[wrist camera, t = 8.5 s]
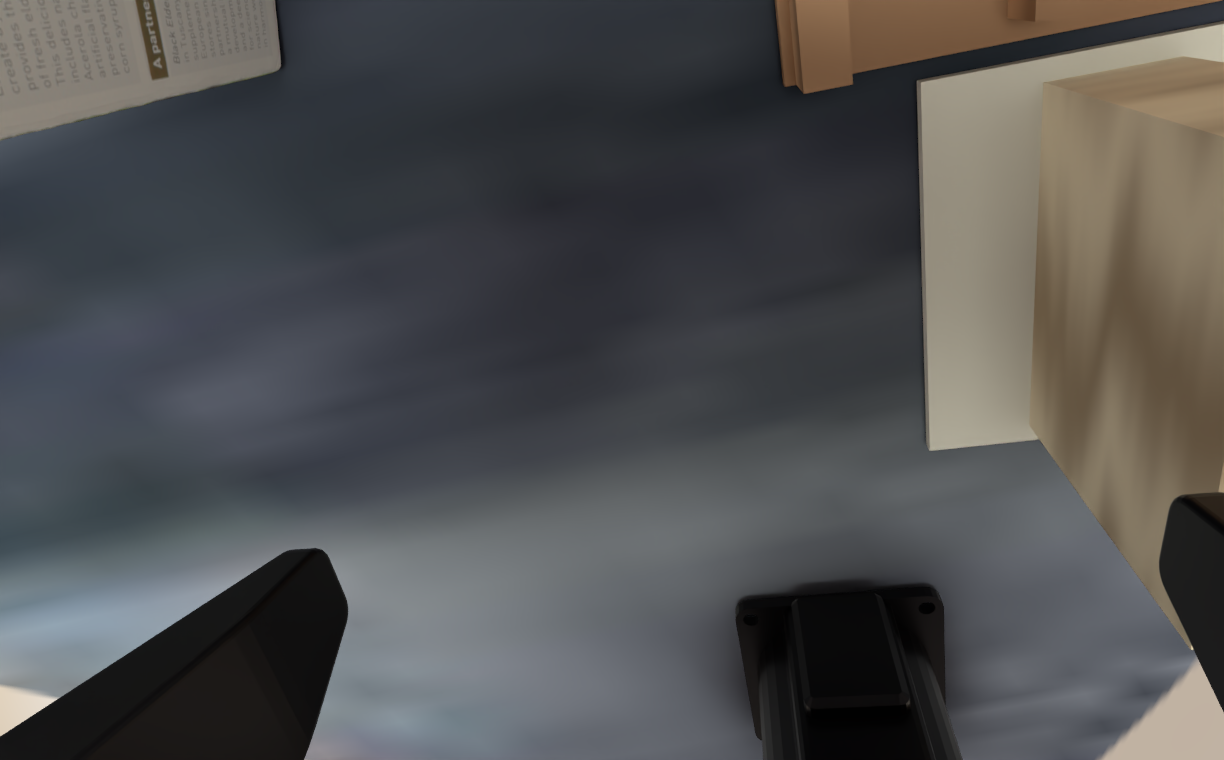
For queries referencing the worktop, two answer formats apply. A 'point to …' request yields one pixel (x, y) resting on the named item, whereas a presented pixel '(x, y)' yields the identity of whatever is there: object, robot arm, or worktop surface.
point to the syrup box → (124, 54)
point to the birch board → (1132, 296)
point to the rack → (924, 30)
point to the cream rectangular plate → (996, 229)
